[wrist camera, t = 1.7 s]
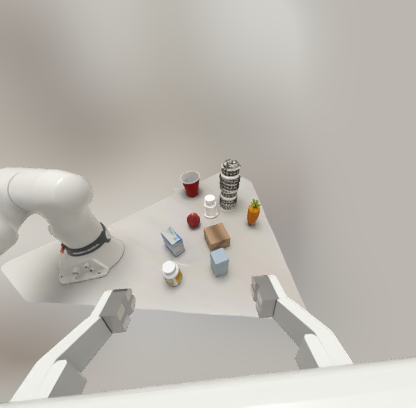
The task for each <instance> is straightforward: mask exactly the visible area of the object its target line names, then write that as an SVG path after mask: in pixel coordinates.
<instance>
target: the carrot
mask: <svg viewBox="0 0 416 408" xmlns="http://www.w3.org/2000/svg"><path fill="white" fill-rule="evenodd" d="M252 200H253V202H254V204H253V203H252V202H251V204H252V205H250V206H249V208H248V215H247V219H248V223H249V224H250V225H251V224H253V223H254V222H255V221H256V220H257V218H258V216H259V213H260V207H259V206H260V205H261V204H258V200H256V202H255V199H252Z"/></svg>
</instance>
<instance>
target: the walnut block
mask: <svg viewBox="0 0 416 408" xmlns="http://www.w3.org/2000/svg"><path fill="white" fill-rule="evenodd" d="M204 236H205V239H206V241H207V244H208V246H209V248H210V251H211V252H212V251H215V250H217V249H220V248H222V247H223V248H225V247H227V246H229V244H230V237H229V235H228V233H227V231H226V230H225V228H224V226H223V224H222V223H219V224H216V225H213V226H210V227H207V228H204Z"/></svg>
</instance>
